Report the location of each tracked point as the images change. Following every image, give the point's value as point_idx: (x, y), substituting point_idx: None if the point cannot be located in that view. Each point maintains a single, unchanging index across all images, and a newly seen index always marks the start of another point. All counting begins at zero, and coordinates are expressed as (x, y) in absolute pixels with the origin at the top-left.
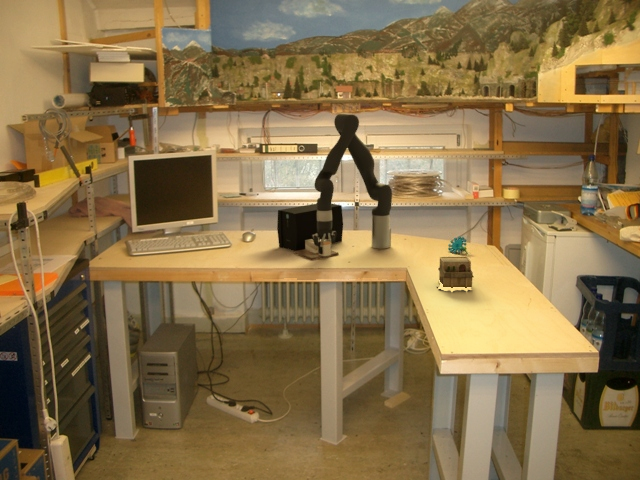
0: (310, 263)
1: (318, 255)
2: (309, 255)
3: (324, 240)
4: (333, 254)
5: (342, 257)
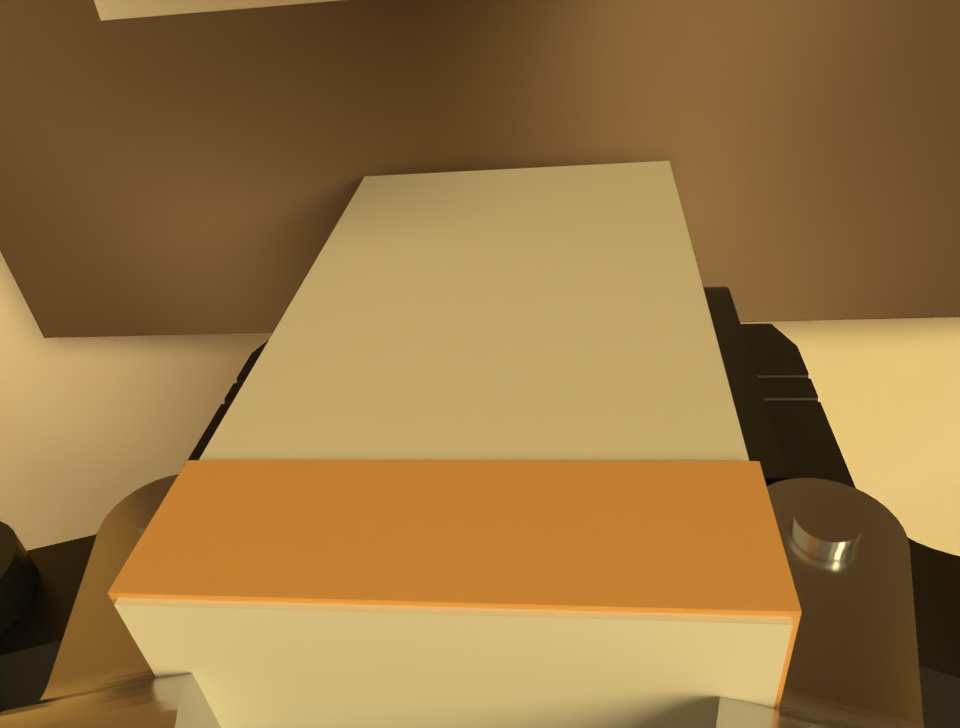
0: (12, 469)
1: (319, 230)
2: (15, 50)
3: (569, 710)
4: (860, 305)
5: (912, 496)
